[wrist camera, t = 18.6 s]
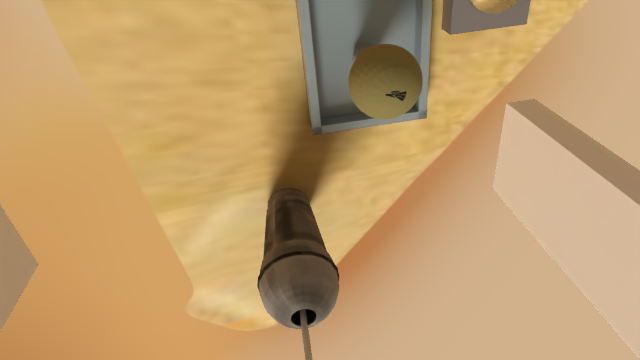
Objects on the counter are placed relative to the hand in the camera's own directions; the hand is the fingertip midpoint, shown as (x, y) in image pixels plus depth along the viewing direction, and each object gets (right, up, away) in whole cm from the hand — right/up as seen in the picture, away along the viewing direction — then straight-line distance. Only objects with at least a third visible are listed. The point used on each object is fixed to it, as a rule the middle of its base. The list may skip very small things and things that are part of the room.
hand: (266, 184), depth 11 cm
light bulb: (+5, +12, +27) cm, 30 cm away
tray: (+5, +12, +28) cm, 31 cm away
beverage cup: (-2, -3, +36) cm, 36 cm away
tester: (+16, +18, +26) cm, 35 cm away
